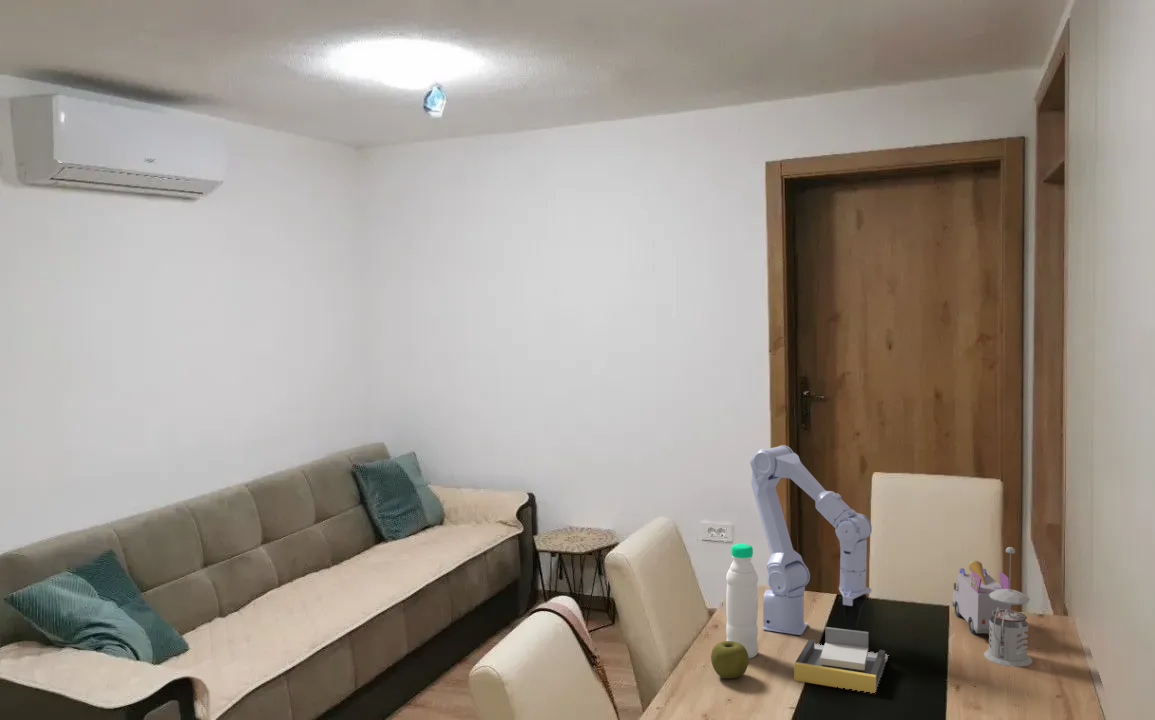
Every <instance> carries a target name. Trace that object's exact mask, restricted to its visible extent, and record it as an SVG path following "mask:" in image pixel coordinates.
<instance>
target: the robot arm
mask: <svg viewBox="0 0 1155 720" xmlns="http://www.w3.org/2000/svg"><path fill="white" fill-rule="evenodd" d="M749 464H750V467H751V472H752V473H751V488H752V492H753V496H754V499H755V502H756V505H757V510H758V512H759V517H760V520H761V524H762V527H763V531H764V535H765V537H766V541H767V545H768V550H769V553H770V557H769V559H768V561H767V564H766V569H767V585H768V587H769V588H770V589H766V590H765V592H764V594H763V603H762V630H763V631H769V632H777V633H782V634H789V635H795V636H802V635H803V634H804V632H805V631H806V629H807V627H808V626H809V623H808V622H805V621H804V620H805V617H804V616H805V590H806V586H807V585H808V584H809V581H810V578H811V573H810V571H809V568H808V567H807V565H806V564H805V562H804V560H803V558H802V555H801V554H800V553H798V552H797V551H796V550H794V547H793V544H792V540H791V538H790V534H789V530H788V527H787V523H786V519H785V517H784V516H785V515H784V513H783V510H782V505H781V503H780V502H781V501H780V498H779V495H778V491H777V488H776V487H777V485H778V484H779V481H780V480H781V478H782V479H789V480H792V482H794V484H796V485H797V486H798V487H799V488H800V489H802V491H804V492H805V493H806V494H807V495H808V496H809V497H810V498H812V500H814V502H815V509H816V510H817V512H819V513H820V514H821V516H822V517H823V518H824V519H826V520H827V521H828V522H829V524H830V525H832V526H833V528H835V529H834V530H835V535H836V537H837V539H838V541H839V548H840V551H839V552H840V553H839V554H840V555H839V556H840V560H839V561H840V563H839V585H838V590H839V592H840V594H839V596H838V601H839V604H840V605H841V608H842V610H843V613H844V618H845V624H846V627H847V628H853V629H857V627H858V624H859V621H860V617H861V616H860V615H861V611H862V608H863V605H864V603H865V602H866V599H867V595H866V594H869V595H870V594H871V593H872V588H870V587H867V553H868V552H867V546H868V545H867V544H868V543H867V541H868V540H867V538H868V537H870V536H871V535H872V530H873V529H872V527H873V526H872V524H871V521H870V519H869V518H868V517H867V516H866V515H865V514H862V513H858V512H856V511H855V510H854V509H853V508H851V507H850V506H849V505H848V504H847V503H846V502H845V501H844V500H843V499H842V495H840V494H839V493H838V492H837V493H836V492H835V491H832V490H826V489H825V488H824V486H823V485H822V484H821V483H820V482H819V481H818V480H817V479H816V478H815V477H814V475H812V473H811V472H810V471H809V470H808V469H807V468H806V467H805V465H804V464H803V463H802V462H801V460H800V457H799V455H798V454H797V453H795V451H793V450H792V448H791V447H789V446H788V445H784V444H781V445H778V446H775V447H771V448H766V449H759V450H757V451H756V452H755V453H754V455H753V456H752V458H751V459H750V461H749Z"/></svg>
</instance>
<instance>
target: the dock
mask: <svg viewBox="0 0 1155 720" xmlns="http://www.w3.org/2000/svg"><path fill="white" fill-rule="evenodd" d="M820 644H821V645H820ZM824 645H825V644H824ZM824 645H822V643H817V644H815V639H812V638H809V639H808V640H807V642H806V644H805V645H804V647H803V649H802V650H801V652H800V654H799V655H798V657H797V659H796V661H794V664H793V667H794V669H793V670H794V671H793V674H794V675H793V678H794V679H793V681H797V682H803V683H808V684H813V685H819V686H820V685H821V686H826V687H833V688H837V687H838V688H839V689H843V688H845V689H844V690H849V689H852V690H851V691H855V690H857V691H856V692H860V691H864V692H863V693H866V692H870V693H869V694H872V693H875V692H876V693H877V690H878V688H877V687H879V685H878V684H880V682H881V679H880V678H882V676H883V673H884V671H885V668H886V663H887V661H888V658H889V657H888V656H890V654H889V655H887V654H888V653H886V650H883V649H879V650H878V652H876V653H874V652H875V651H870V652H868V656H867V661H866V666H865V671H864V673H861V672H855V669H851V668H843V667H836V666H831V668H830V667H824V666H821V664H820V657H821V654H822V651H823V648H824ZM884 667H885V668H884ZM883 670H884V671H883ZM879 681H880V682H879ZM876 693H875V694H876Z"/></svg>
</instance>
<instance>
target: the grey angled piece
mask: <svg viewBox="0 0 1155 720" xmlns="http://www.w3.org/2000/svg"><path fill="white" fill-rule="evenodd" d="M824 630H825V631H824V633H825V634H824V636H825V637H824V638H825V639H824V648H823V651H822V654H821V657H820V664H821V666H824V667H830V668H831V666H836V667H843V668H851V669H855V672H861V673H864V671H865V666H866V661H867V656H868V651H869V631H864V630H863V631H862V630H855V629H854V630H853V629H847V628H845V629H844V628H838V627H829V626H826V627H825V629H824Z"/></svg>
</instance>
